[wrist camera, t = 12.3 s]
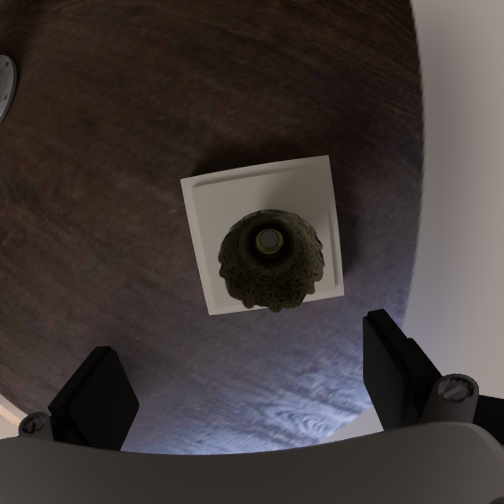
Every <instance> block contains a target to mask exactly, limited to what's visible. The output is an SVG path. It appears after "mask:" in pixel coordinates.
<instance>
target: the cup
mask: <svg viewBox="0 0 504 504" xmlns="http://www.w3.org/2000/svg"><path fill="white" fill-rule="evenodd" d="M266 231H273V232H275V233H276V234H277V236H278V243H277V244H276V246H274V247H272V248H266V247H264V246H263V245H262V243H261V240H260V239H261V235H262V234H263V233H264V232H266ZM321 250H323V245H322V243H321V241H320V240H319V239H318V237H317V233H316V231H315V230H314V228H313V227H312V226H311V225H310V224H309V223H308V222H306V221H305V220H304V219H302V218H300V217H299V216H298V215H296V214H294V213H291V212H286V211H282V210H277V209H265V210H260V211H256V212H253V213H250V214H248V215H246V216H244V217H243V218H242V219H241V220H239V221H238V222H237V223H235V224H234V225H233V226H232V227H231V228H230V229H229V233H228V234H227V235H226V236H225V238H224V240H223V241H222V243H221V247H220V251H219V254H218V262H219V263H220V264H221V268H220V270H219V276H220V277H221V278H224V280H225V286H226V289H227V292H228V294H229V295H230V296H231V297H232V298H234V299H237V300H240V301H242V304H243V306H244V307H246V308H247V309H251V308H253V307H254V306H255V305H258V306H260V307H268V308H269V309H270V312H273V313H278V312H280V311H281V309H282V308H284V309H293V308H297V307H298V306H299V305H300V304H301V303H302V302H303V300H304V298H305V296H306V295H307V294H309V295H312V294H314V292H315V286H314V282H319V281H320V280H321V279H322V277H323V269H324V266H325V262H324V258H323V253H322V252H321ZM253 305H254V306H253ZM252 306H253V307H252Z"/></svg>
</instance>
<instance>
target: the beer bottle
mask: <svg viewBox="0 0 504 504" xmlns="http://www.w3.org/2000/svg"><path fill="white" fill-rule="evenodd" d="M290 1H293V2H297V3H300V4H307V3H311V2H314V1H318V0H290Z"/></svg>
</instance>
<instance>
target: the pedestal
mask: <svg viewBox="0 0 504 504" xmlns="http://www.w3.org/2000/svg"><path fill="white" fill-rule="evenodd" d="M181 185H182V190H183V196H184V201H185V206H186V211H187V216H188V221H189V226H190V231H191V236H192V241H193V245H194V250H195V255H196V259H197V264H198V268H199V273H200V277H201V282H202V286H203V290H204V295H205V299H206V303H207V307H208V312H209V315H215V314H223V313H231V312H239V311H246V310H254V309H261V308H268V307H260V306H258V305H255V306H254V305H253V306H254V307H253V306H252V307H253V308H251V309H247V308H246V307H244V306H243V304H242V301H240V300H237V299H234V298H232V297H231V296H230V295H229V294H228V292H227V289H226V286H225V280H224V278H221V277H220V276H219V270H220V268H221V264H220V263H219V262H218V254H219V251H220V247H221V243H222V241H223V240H224V238H225V236H226V235H227V234H228V233H229V229H230V228H231V227H232V226H233V225H234V224H235V223H237V222H238V221H239V220H241V219H242V218H243V217H244V216H246V215H248V214H250V213H253V212H256V211H260V210H265V209H277V210H282V211H286V212H291V213H294V214H296V215H298V216H299V217H300V218H302V219H304V220H305V221H306V222H308V223H309V224H310V225H311V226H312V227H313V228H314V230H315V231H316V233H317V237H318V239H319V240H320V241H321V243H322V245H323V250H321V252H322V253H323V258H324V262H325V266H324V269H323V277H322V279H321V280H320V281H319V282H314V286H315V292H314V294H312V295H309V294H307V295H306V296H305V298H304V300H303V302H307V301H313V300H319V299H325V298H331V297H337V296H342V295H344V288H343V274H342V262H341V251H340V241H339V231H338V222H337V214H336V205H335V197H334V190H333V183H332V176H331V169H330V162H329V156H328V155H325V156H317V157H309V158H301V159H294V160H287V161H280V162H273V163H267V164H260V165H254V166H248V167H242V168H236V169H231V170H225V171H220V172H215V173H209V174H204V175H199V176H194V177H189V178H185V179H181ZM260 240H261V243H262V245H263V246H264V247H266V248H272V247H274V246H276V244H277V243H278V236H277V234H276V233H275V232H273V231H266V232H264V233H263V234H262V235H261V239H260Z"/></svg>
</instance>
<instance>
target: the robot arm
mask: <svg viewBox="0 0 504 504" xmlns="http://www.w3.org/2000/svg"><path fill="white" fill-rule="evenodd" d="M16 80H17V70H16V66H15V63H14V61H13V60H12V59H11V58H10V57H8V56H5V55H0V123H1V122H2V120H3V118H4V117H5V115H6V113H7V111H8V109H9V107H10V105H11V102H12V99H13V96H14V93H15V88H16ZM363 380H364V384H365V387H366V389H367V391H368V394H369V396H370V398H371V401H372V403H373V405H374V408H375V410H376V412H377V415H378V417H379V420H380V422H381V424H382V427H383V429H384V431H382V432H378V433H373V434H369V435H364V436H359V437H354V438H349V439H345V440H340V441H335V442H329V443H324V444H318V445H312V446H305V447H299V448H291V449H284V450H275V451H265V452H254V453H239V454H217V455H173V454H151V453H137V452H126V451H120V449H121V447H122V445H123V442H124V440H125V438H126V436H127V434H128V431H129V429H130V427H131V425H132V423H133V420H134V418H135V416H136V414H137V412H138V409H139V402H138V399H137V397H136V395H135V393H134V391H133V389H132V387H131V385H130V382H129V380H128V378H127V376H126V374H125V371H124V369H123V367H122V364H121V362H120V360H119V357H118V355H117V353H116V351H115V350H113V349H112V348H111V347H110V346H101V347H96V348H95V349H94V350H93V351H92V352H91V353H90V355H89V356H88V357H87V358H86V359H85V361H84V362H83V363H82V364H81V366H80V367H79V368H78V369H77V370H76V372H75V373H74V374H73V375H72V377H71V378H70V379H69V380H68V382H67V383H66V384H65V385H64V387H63V388H62V389H61V390H60V392H59V393H58V394H57V396H56V397H55V398H54V399H53V401H52V402H51V403H50V405H49V406H48V409H49V411H50V412H51V414H52V415H51V416H50V417H49V416H48V415H47V414H46V413H44V412H36V413H32V414H30V415H28V416H27V417H26V418H24V419H23V420H22V421H21V423H20V425H19V436H17V437H10V438H5V439H1V440H0V504H504V399H500V398H495V397H489V396H483V395H479V387H478V384H477V382H476V381H475V380H474V379H473V378H471V377H469V376H467V375H463V374H449V375H446V376H442V375H441V374H440V372H439V371H438V370H437V368H436V367H435V366H434V365H433V363H432V362H431V361H430V359H429V358H428V357H427V356H426V354H425V353H424V352H423V350H422V349H421V348H420V347H419V345H418V344H417V343H416V342H415V340H413V339H412V338H407V337H406V336H405V335H404V333H403V332H402V331H401V329H400V328H399V327H398V326H397V324H396V323H395V322H394V321H393V319H392V318H391V317H390V316H389V314H388V313H387V312H386V311H385V310H384V309H379V310H374V311H369V312H368V314H367V316H365V317H363Z"/></svg>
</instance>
